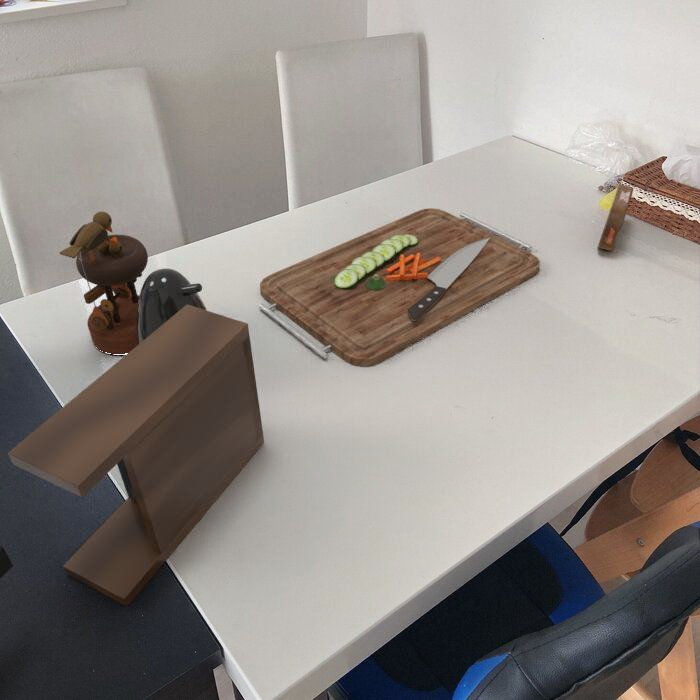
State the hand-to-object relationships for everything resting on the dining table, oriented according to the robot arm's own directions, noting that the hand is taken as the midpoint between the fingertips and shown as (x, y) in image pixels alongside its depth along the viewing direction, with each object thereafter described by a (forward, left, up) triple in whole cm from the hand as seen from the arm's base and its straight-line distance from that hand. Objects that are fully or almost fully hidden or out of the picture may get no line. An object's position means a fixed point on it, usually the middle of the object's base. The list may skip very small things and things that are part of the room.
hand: (1, 553), depth 58 cm
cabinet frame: (+3, +16, -11) cm, 20 cm away
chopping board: (+7, +70, -11) cm, 71 cm away
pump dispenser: (-11, +36, -11) cm, 40 cm away
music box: (-23, +39, -11) cm, 47 cm away
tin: (+34, +97, -11) cm, 104 cm away
